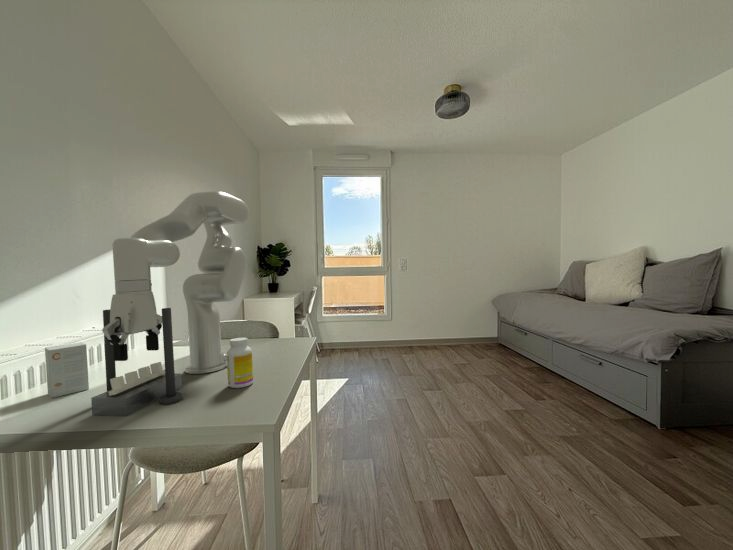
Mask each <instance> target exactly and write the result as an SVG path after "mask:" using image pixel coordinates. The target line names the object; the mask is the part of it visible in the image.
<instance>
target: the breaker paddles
mask: <svg viewBox="0 0 733 550" xmlns="http://www.w3.org/2000/svg"><path fill="white" fill-rule="evenodd" d="M163 374H165V369H163V366H162V361H158V362H155V363H151V364H149V365H148V366H143V367H140V368H138V369H137V370H134V371H129V372H126V373H124V375H120V376H116V377H115V378H112V379H110V382H111V386H112V390H111V391H109V396H111V395H115V394H118V393H120V392H122V391H125V390H127V389H129V388H132V387H134V386H137V385H139V384H141V383H144V382H146V381H148V380H151V379H153V378H156V377H158V376H160V375H163ZM124 378H125V380H124ZM139 378H140V379H139ZM125 382H126V383H125ZM125 384H126V385H125Z"/></svg>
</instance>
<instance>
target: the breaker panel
mask: <svg viewBox="0 0 733 550" xmlns="http://www.w3.org/2000/svg"><path fill="white" fill-rule="evenodd" d="M138 378H139V379H140V377H138ZM126 384H127V383H125V385H126ZM182 388H183V383H182V373H175V390H176V392H178V390H180V389H182ZM109 391H111V390H109ZM109 391H107V390H106V391H104V392H102V393H100V394H99V393H98V394H97V395H95V396H93V397H91V398H90V399H91V400H90V401H91V413H92V414H91V415H92V416H108V415H116V416H115V417H128V416H129V415H132V414H133V413H136V412H137V411H139V410H142V409H143V408H145V407H147V406H149V405H151V404H154V403H155V402H157V401H160V397H161V396H163V395H165V394H166V378H165V374H163V375H160V376H158V377H156V378H153V379H151V380H148V381H146V382H144V383H141V384H139V385H137V386H134V387H132V388H129V389H127V390H125V391H122V392H120V393H118V394H115V395H111V396H109Z"/></svg>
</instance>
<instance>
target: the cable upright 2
mask: <svg viewBox="0 0 733 550" xmlns="http://www.w3.org/2000/svg"><path fill="white" fill-rule="evenodd" d="M161 316H162V341H163V357H164V359H163V360H164V370H165V378H166V394H165V395H163V396H161V397H160V399H159V404H160V405H163V406H165V405H173V404H177V403H179V402H181V401H183V399H184V398H183V392H180V391H176V390H175V374H176V373H175V356H174V355H175V354H174V339H173V338H174V337H173V321H172V320H173V319H172V307H164V308H161Z"/></svg>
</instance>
